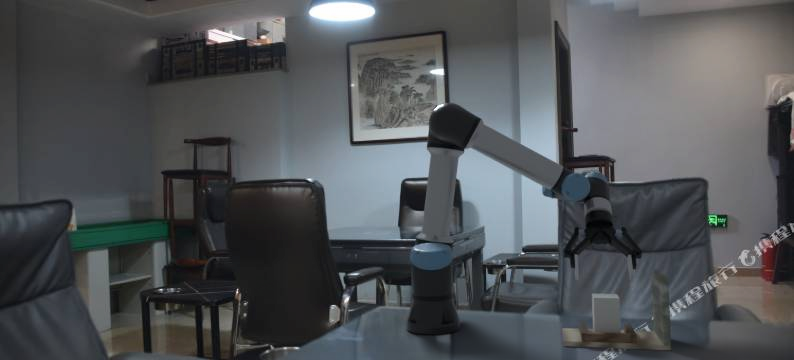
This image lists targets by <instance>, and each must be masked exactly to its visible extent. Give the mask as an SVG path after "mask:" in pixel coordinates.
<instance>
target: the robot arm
mask: <svg viewBox="0 0 794 360" xmlns="http://www.w3.org/2000/svg"><path fill="white" fill-rule="evenodd" d="M426 143H427V144H426V150H427V151H428V153H429V154H430V160H429V168H428V175H427V183H426V191H425V192H426V193H425V194H426V195H425V199H424V201H425V202H424V207H423V208H424V209H423V217H422V219H423V220H422V226H421V227H422V228H421V232H419V233H418V235H416V236H415V243H414V246H413V247H412V248H411V250H410V257H409V258H410V271H411V276H410V277H411V304H410V308H409V311H408V315H407V318H406V330H407V331H409V332H410V333H414V334H419V335H446V334H447V335H448V334H450V333H455V332H458V331H459V330H461V318H460V315H459V313H458V310H457V307H456V304H455V302H454V278H453V257H454V256H453V251H454V243H455V241H454V240H453V237H451V236H450V235H451V226H452V225H451V224H452V217H453V207H454V201H455V191H456V183H457V176H458V175H457V174H458V166H459V159H460V157H462V155H464V153H465V150H468V149H472V150H475V151H476V152H478V153H480V154H482V155H484V156H485V157H488V158H489V159H491V160H493V161H495V162H497V163H499V164H501V165H503V166H504V167H506V168H508V169H510V170H511V171H514V172H516V173H518V174H520V175H522V177H525V178H527V179H529V180H531V181H532V182H534V183H536V184H538V185H540V186H541V187H542V189H541V192H542V193H541V194H542V195H543V196H544V197H545V198H551V199H552V200H553V199H555V200H556V199H557V200H562V201H568V202H575V203H581V204H583V208H584V209H583V211H584V212H583V213H584V223H585V224H584V227H585V228H584V229H580V228H579V226H576V227H574V231H573V234H572V236H571V237H570V239H569V241H568V242H567V244H566V246H564V249H563V251H562V256H563V258H564V259H567V258H569V260H570V261H569V262H570V268H571V269H574V274H575V281H579V275H580V274H579V258H578V257H579V256H580V254H582V252H584V251H585V250H586V249H587V248H588V247H590V246H591V245H592V244H594V245H607V244H608V245H610V246H611V247H612V248H613V247H614V249H616V250H618V251H619V252H620V253H622V255H624V256H625V257H626V258H627V262H626V263H627V268H628V269H627V270H628V276H629V282H634V278H635V277H634V276H635V273H634V270H637V265H638V264H637V259H638V260H639V259H640V260H641V259H642V255H643V250H642V249H641V248H640V247H639V246H638V244H637V243H636V242H635V240H634V239H633V238H632V237H631V236H630V235H629V234H628V232H627V231H628V230H627V228H626V227H624V226H623V227H621V228H620V229H616V228H615V227H614V221H613V212H612V204H611V197H610V195H611V194H610V186H609V181H608V178H607V177H606V176H605V175H604V174H603V173H600V172H597V171H596V172H595V171H594V172H590V173H587V174H585V175H584V174H581V173H579V172H574V171H572V170H570V169H568V168H566V167H564V166H563V165H562V164H560V163H557V162H555V161H553V160H552V159H550V158H548V157H546V156H544V155H542V154H540V153H538V152H537V151H535V150H534V149H531V148H529V147H527V146H525V145H524V144H522V143H520V142H518V141H516V140H514V139H513V138H511V137H508V136H507V135H504V134H503V133H501V132H499V131H497V129H496V130H495V129H494V128H493V127H490V126H487V125H486V124H485V123H484V120H483V118H480V117H479V116H477V115H475V114H474V113H472V112H470V111H469V110H467V109H466V108H464V107H463V106H461V105H459V104H457V103H456V102H455V103H454V102H445V103H441V104H438V105H437V106H436V107H435V108H434V109H433V110H432V112H431V113H430V116H429V119H428V135H427V142H426ZM583 235H584V236H585V237H584V239H582V240H581V241H580V242H579V243H578V244H577V242H578V241H579V239H580V238H581V237H582V236H583ZM616 235H617V236H618V237H619V238H620V239H622V241H623V242H622V241H621V240H619V239H618V237H617V236H616ZM575 245H576V246H575Z"/></svg>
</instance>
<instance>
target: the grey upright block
mask: <svg viewBox="0 0 794 360" xmlns="http://www.w3.org/2000/svg"><path fill="white" fill-rule="evenodd" d="M591 308H592V310H591V312H592V329H593V332H604V333H621V330H622V329H621V328H622V327H621V326H622V325H621V322H622V321H621V298H620V297H619V295H618V294H617V293H594V292H593V293H591Z"/></svg>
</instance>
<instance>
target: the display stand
mask: <svg viewBox="0 0 794 360" xmlns="http://www.w3.org/2000/svg"><path fill="white" fill-rule="evenodd" d="M669 282H670V281H669V276H668V275H667V274H665V272H663V271H662V270H660V269H659V268H651V289H652V312H653V313H652V319H653V320H652V322H653V330H635V329H634V328H633V326H632V324H631V323H623V329H621V333H604V332H593V328H587V323H586V322H585V321H584V322H583V321H581V322H580V321H579V322H578V328H571V327H570V328H569V327H568V328H566V327H563V328H561V330H562V341H563V346H564V347H574V348H575V347H578V348H579V347H580V348H599V349H600V348H603V349H626V350H627V349H628V350H630V349H631V350H632V349H633V350H654V351H672V343H671V342H672V339H671V336H672V335H671V312H670V310H671V309H670V307H671V306H670V288H669V287H670V283H669Z"/></svg>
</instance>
